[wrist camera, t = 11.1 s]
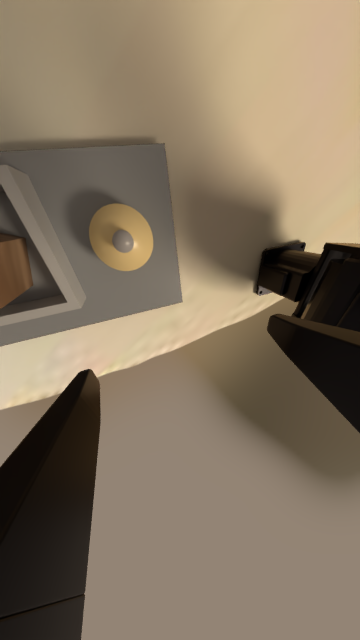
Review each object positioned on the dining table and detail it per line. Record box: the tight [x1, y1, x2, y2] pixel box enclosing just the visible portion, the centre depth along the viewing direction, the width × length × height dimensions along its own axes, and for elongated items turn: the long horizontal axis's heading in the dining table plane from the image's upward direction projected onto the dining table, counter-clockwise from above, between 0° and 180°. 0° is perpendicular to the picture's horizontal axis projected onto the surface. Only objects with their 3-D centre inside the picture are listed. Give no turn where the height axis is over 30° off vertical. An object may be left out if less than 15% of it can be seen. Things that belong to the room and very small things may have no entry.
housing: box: [0, 143, 183, 346], centre depth 14 cm, size 20×14×4 cm
